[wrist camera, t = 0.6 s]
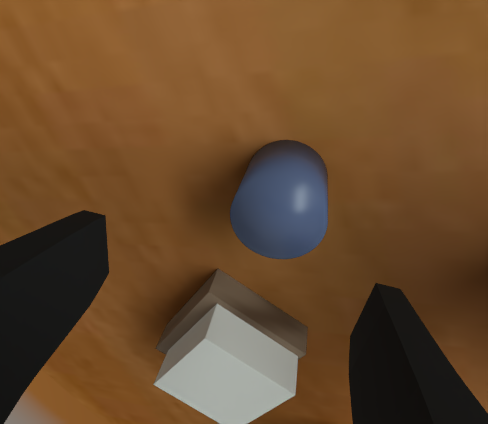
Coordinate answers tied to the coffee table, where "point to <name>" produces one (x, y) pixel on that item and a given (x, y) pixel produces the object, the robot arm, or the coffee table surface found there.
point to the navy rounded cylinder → (282, 201)
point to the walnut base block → (236, 314)
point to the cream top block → (228, 369)
